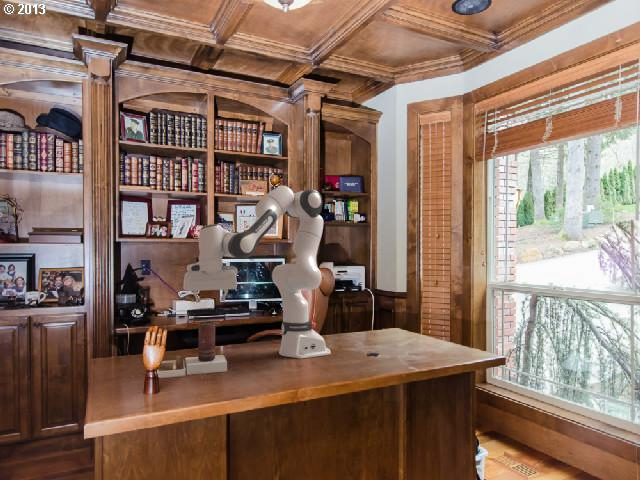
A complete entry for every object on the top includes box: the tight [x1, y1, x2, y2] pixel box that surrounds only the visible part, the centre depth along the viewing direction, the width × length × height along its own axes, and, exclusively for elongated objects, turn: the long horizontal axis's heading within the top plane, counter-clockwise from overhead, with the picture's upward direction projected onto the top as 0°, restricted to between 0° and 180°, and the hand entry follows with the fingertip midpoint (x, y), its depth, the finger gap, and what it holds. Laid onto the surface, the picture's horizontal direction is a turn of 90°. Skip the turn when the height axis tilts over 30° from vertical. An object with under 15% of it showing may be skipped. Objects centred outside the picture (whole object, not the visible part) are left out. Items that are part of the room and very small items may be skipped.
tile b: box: [159, 363, 173, 371], centre depth 164 cm, size 5×4×2 cm
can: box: [197, 321, 216, 362], centre depth 169 cm, size 6×6×14 cm
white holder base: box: [184, 354, 228, 376], centre depth 169 cm, size 14×11×4 cm
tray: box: [157, 359, 186, 379], centre depth 165 cm, size 10×14×2 cm
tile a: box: [175, 355, 184, 370], centre depth 166 cm, size 5×4×2 cm
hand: (210, 301), depth 172 cm, fingers open, 8 cm apart
